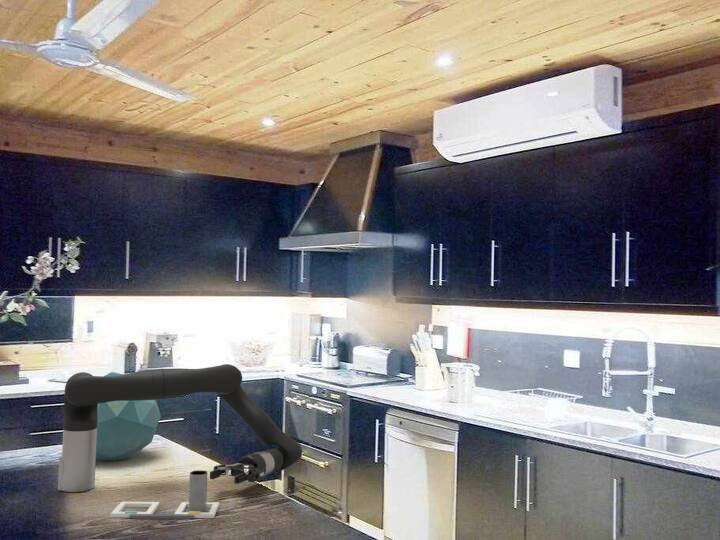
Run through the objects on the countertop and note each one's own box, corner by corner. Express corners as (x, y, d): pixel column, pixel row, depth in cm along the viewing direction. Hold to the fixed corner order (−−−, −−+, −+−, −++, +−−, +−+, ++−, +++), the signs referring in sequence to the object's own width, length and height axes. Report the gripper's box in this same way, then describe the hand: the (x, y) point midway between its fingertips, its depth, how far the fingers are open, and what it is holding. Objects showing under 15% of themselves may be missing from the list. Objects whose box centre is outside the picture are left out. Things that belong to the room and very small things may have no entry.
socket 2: (174, 517, 172) (174, 512, 172) (181, 505, 182) (181, 501, 182) (213, 518, 173) (213, 513, 173) (219, 506, 183) (219, 501, 183)
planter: (196, 508, 181) (198, 469, 181) (209, 511, 179) (211, 471, 179) (184, 512, 177) (186, 473, 177) (198, 515, 175) (199, 475, 175)
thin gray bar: (129, 518, 171) (129, 515, 171) (130, 517, 172) (130, 514, 172) (193, 519, 172) (193, 516, 172) (193, 518, 173) (193, 515, 173)
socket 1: (110, 517, 171) (110, 512, 171) (121, 505, 181) (121, 500, 181) (150, 517, 172) (150, 512, 172) (159, 505, 182) (159, 500, 182)
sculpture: (169, 408, 255) (129, 346, 242) (180, 448, 229) (135, 382, 216) (98, 448, 249) (53, 388, 236) (101, 495, 224) (50, 430, 211)
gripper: (237, 450, 205) (203, 461, 191) (277, 456, 199) (244, 467, 185) (236, 475, 205) (202, 487, 191) (276, 482, 199) (243, 495, 184)
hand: (223, 478), depth 188 cm, fingers open, 8 cm apart
